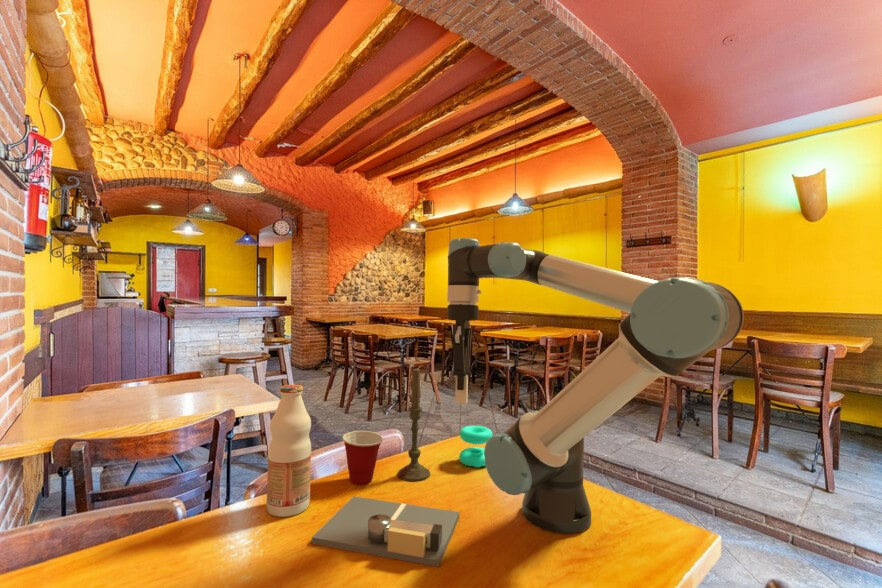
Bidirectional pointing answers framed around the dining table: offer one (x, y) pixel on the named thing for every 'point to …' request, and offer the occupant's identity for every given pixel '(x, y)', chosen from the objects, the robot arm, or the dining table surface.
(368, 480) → the plastic cup
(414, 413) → the candlestick holder
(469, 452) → the donuts
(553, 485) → the robot arm
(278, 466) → the fruit juice
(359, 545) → the plate
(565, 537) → the dining table surface
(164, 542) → the dining table surface
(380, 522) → the lock bar
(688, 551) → the dining table surface
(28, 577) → the dining table surface
